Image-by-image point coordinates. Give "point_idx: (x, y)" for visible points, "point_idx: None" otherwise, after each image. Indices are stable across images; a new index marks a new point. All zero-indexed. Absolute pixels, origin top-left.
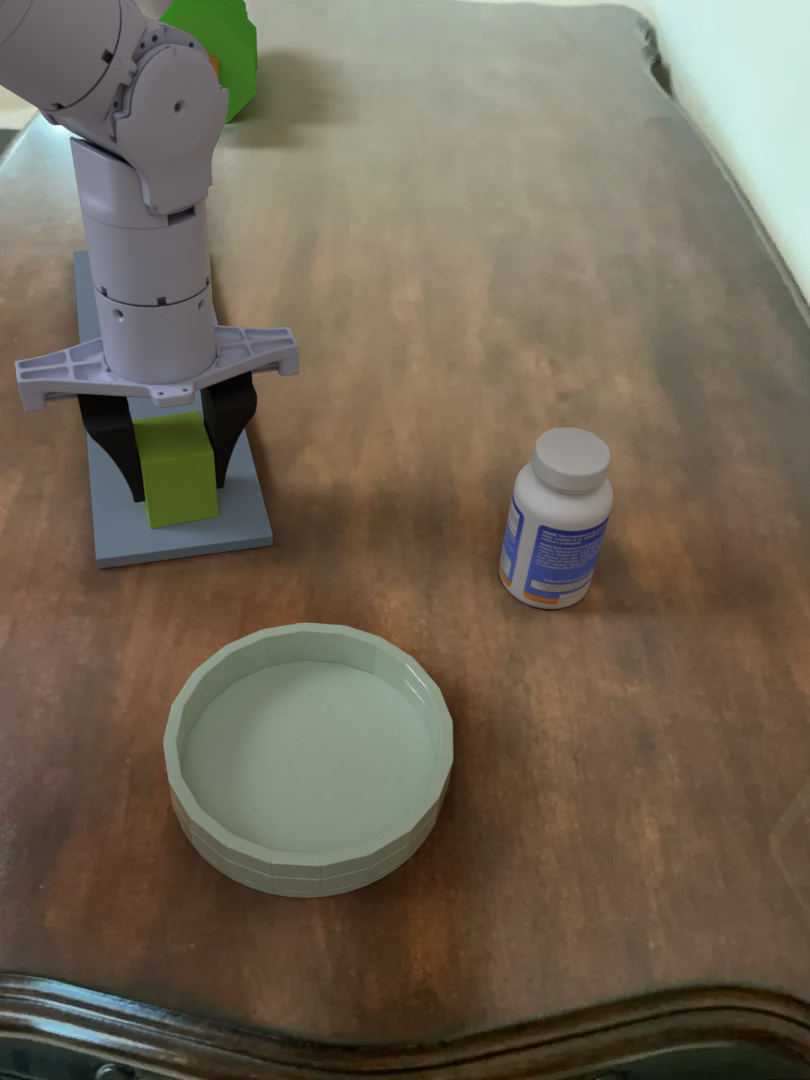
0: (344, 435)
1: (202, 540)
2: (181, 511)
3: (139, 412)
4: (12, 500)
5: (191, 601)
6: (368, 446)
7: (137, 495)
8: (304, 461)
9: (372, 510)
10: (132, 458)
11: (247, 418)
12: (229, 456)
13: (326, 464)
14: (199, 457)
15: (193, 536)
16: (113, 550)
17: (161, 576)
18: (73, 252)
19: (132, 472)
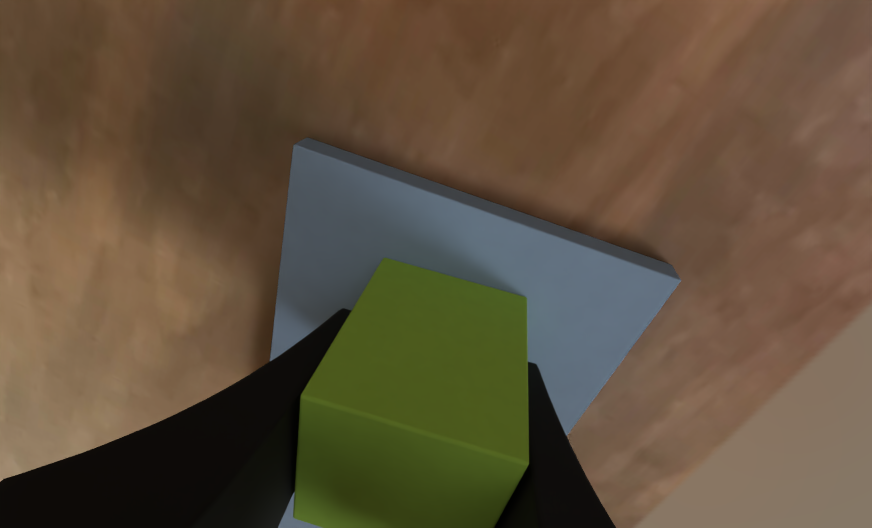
0: (114, 323)
1: (444, 213)
2: (454, 298)
3: None
4: (685, 471)
5: (551, 61)
6: (76, 281)
7: (535, 377)
8: (192, 306)
9: (83, 125)
10: (549, 494)
11: (61, 470)
12: (273, 362)
13: (155, 281)
14: (350, 398)
15: (457, 233)
16: (633, 283)
17: (567, 177)
18: None
19: (548, 443)
